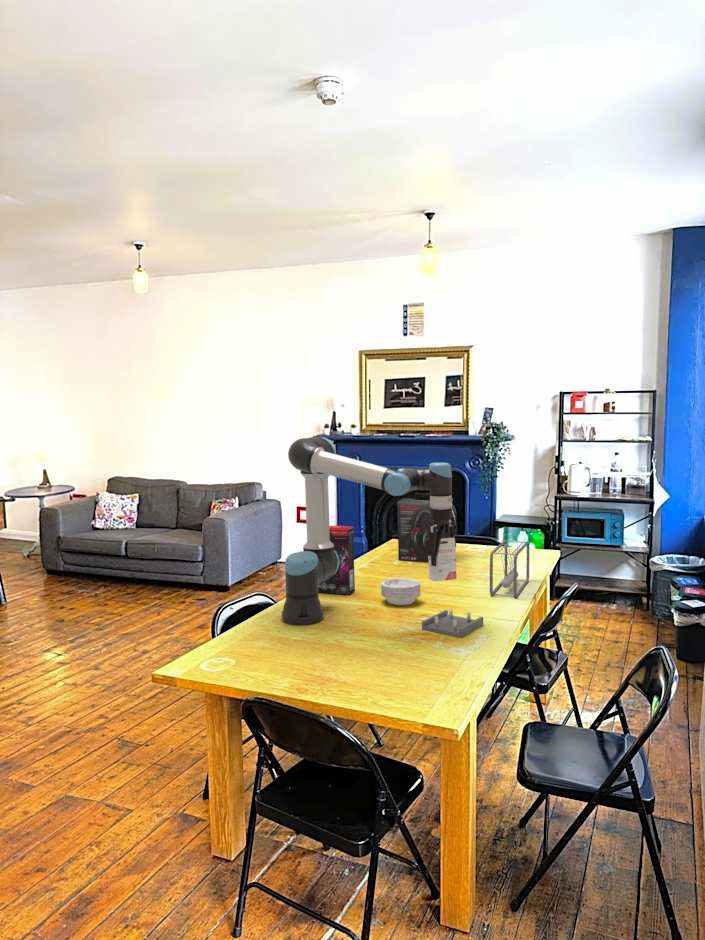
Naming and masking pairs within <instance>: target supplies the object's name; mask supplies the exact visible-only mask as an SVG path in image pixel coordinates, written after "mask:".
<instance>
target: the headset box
mask: <svg viewBox="0 0 705 940" xmlns="http://www.w3.org/2000/svg"><path fill="white" fill-rule="evenodd" d="M396 505H397V508H396V509H397V511H396V512H397V545H398V546H397V548H398V550H397V553H398V555H397V556H398V561H404V562H419V563H420V562H421V563H429V560H428V555H427V548H428V538H429V526H433V524H434V520H432V519H431V518H430V509H431V508H432V507H430V492H423V493H422V492H416V493H415V494H414V498H407V497H405V498H404V497H403V498H402V499H400V500H398V501H397V502H396ZM450 508H452V506H451V507H450ZM449 521H452V519H450V520H449ZM441 539H443V537H442V538H441ZM440 544H445V543H444V541H443V542H440Z"/></svg>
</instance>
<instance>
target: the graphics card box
mask: <svg viewBox="0 0 705 940" xmlns="http://www.w3.org/2000/svg"><path fill="white" fill-rule="evenodd" d="M329 526H330V541H331V542H332V543H333V544H334V550H335V552H336V553H337V554H338V556H339V568H338V570H337V572H336V573H335V574H334V575H333V576H332V577H331V578H329V579H327V580H325V581H323V582H321V583H319V584H318V593H321V594H322V593H323V594H337V595H348V596H349V595H351V594H353V593H354V592H355V591H356V590H355V589H356V588H355V587H356V585H355V580H356V579H355V578H356V577H355V549H354V548H355V547H354V543H355V541H354V538H355V537H354V528H355V527H354V526H353V525H352V526H346V525H344V526H343V525H329Z"/></svg>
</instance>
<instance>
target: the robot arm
mask: <svg viewBox="0 0 705 940" xmlns="http://www.w3.org/2000/svg"><path fill="white" fill-rule="evenodd" d="M287 453H288V454H287V456H288V457H287V458H288V460H289V463H290V464H291V466H292V467H293V468H295V469H296V470H298V471H300V475H301V476H302V477H303V478H304V488H305V489H304V490H305V516H306V517H305V518H306V543H304V544H303V546H302V548H303V550H302V551H301V550H300V551H298V552H293V553H290V554H289V555H288V556H287V557H286V558H285V563H284V564H285V565H284V572H285V601H284V603H283V607H282V611H281V621H282V622H284V623H285V624H290V625H296V626H297V625H298V626H303V625H304V626H305V625H313V624H318V623H319V622H322V621H323V620H324V618H325V614H324V609H323V608H322V605H321V601H320V598H319V597H320V596H319V592H318V584H319V583H321V582H323V581H325V580H327V579H329V578H331V577H332V576H333V575H334V574H335V573H336V572H337V570H338V568H339V556H338V554H337V553H336V552H335V550H334V544H333V543H332V542H331V541H330V526H331V525H330V502H329V499H330V498H329V497H330V496H329V476H332V477H335V478H339V479H342V480H346V481H349V482H354V483H357V484H360V485H363V486H367V487H371V488H376V489H379V490H382V491H385V492H387V494H389V495H390V496H393V497H400V496H404V495H405V494H408V493H411V492H413V491H429V493H430V507H432V508H431V509H430V518H431V519H432V520H434V524H433V526H429V538H428V548H427V555H428V556H431V575H439V556H437V555H438V551H439V546H440V542H441V538H442V537H443V538H455V547H457V542H456V534H455V528H454V526H455V524H454V523H455V522H454V520H452V519H453V509H452V507H453V497H452V495H453V489H452V487H453V485H452V484H453V483H452V482H453V479H452V478H453V474H452V466H451V464H450V463H449V462H431V463H429V467H428V468H410V467H405V468H404V467H403V468H398V469H397V470H396V469H391V468H388V467H385V466H381V465H377V464H373V463H370V462H367V461H363V460H358V459H355V458H350V457H347V456H344V455H340V454H337V450H336V447H335V445H334V443H333V442H332V441H331V440H330V439H329V438H327V437H325V436H324V437H323V436H311V437H305V438H303V437H302V438H298V439H297V440H295V441H293V443H292V444H291V445H290V446H289V449H288V452H287ZM450 507H451V508H450ZM450 519H451V521H449V520H450ZM444 543H448V542H447V541H446V542H445V541H444Z"/></svg>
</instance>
